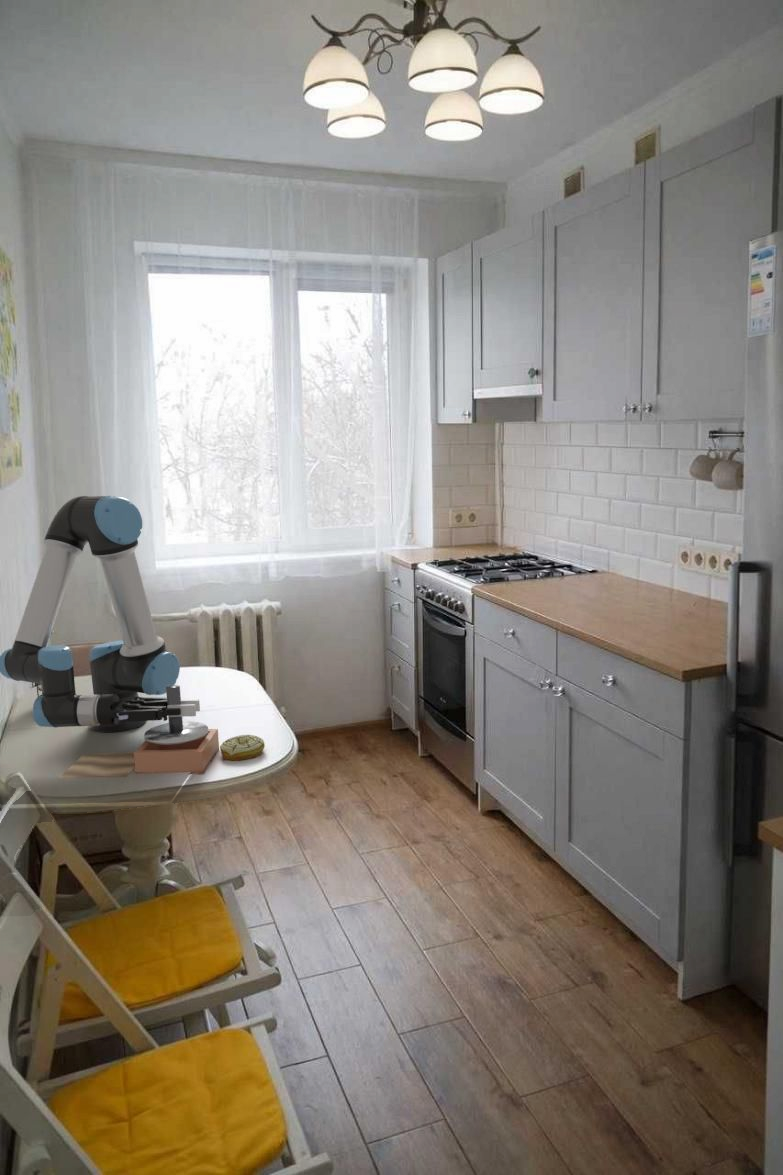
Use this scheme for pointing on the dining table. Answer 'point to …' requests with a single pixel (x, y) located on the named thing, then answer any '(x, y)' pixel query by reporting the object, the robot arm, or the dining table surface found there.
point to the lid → (175, 725)
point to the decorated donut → (242, 747)
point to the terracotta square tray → (177, 756)
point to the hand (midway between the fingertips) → (197, 707)
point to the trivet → (101, 765)
